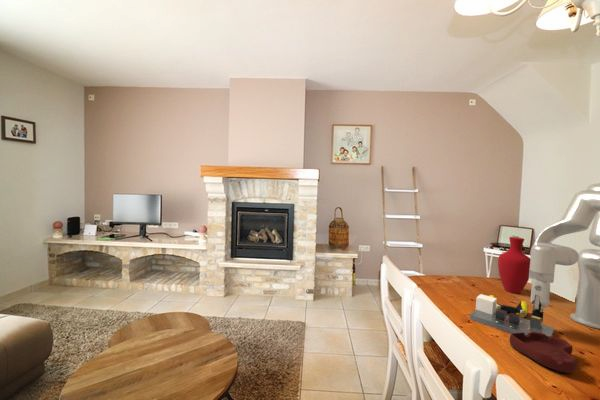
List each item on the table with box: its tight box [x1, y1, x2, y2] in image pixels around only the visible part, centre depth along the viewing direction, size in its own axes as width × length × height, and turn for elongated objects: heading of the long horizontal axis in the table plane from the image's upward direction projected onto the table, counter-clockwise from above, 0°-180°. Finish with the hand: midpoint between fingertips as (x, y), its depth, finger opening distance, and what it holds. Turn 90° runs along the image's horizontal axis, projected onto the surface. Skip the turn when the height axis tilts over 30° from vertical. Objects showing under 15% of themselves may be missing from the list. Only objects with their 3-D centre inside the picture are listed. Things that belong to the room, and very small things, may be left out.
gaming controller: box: [489, 294, 529, 318], centre depth 124 cm, size 15×6×10 cm
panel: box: [469, 309, 555, 337], centre depth 112 cm, size 25×15×6 cm, turn 42°
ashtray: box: [509, 332, 578, 375], centre depth 92 cm, size 18×16×5 cm
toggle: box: [529, 314, 543, 329], centre depth 108 cm, size 3×3×4 cm
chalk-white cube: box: [475, 293, 498, 314], centre depth 121 cm, size 6×6×6 cm
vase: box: [497, 236, 531, 295], centre depth 150 cm, size 15×15×30 cm
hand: (537, 320), depth 111 cm, fingers closed
